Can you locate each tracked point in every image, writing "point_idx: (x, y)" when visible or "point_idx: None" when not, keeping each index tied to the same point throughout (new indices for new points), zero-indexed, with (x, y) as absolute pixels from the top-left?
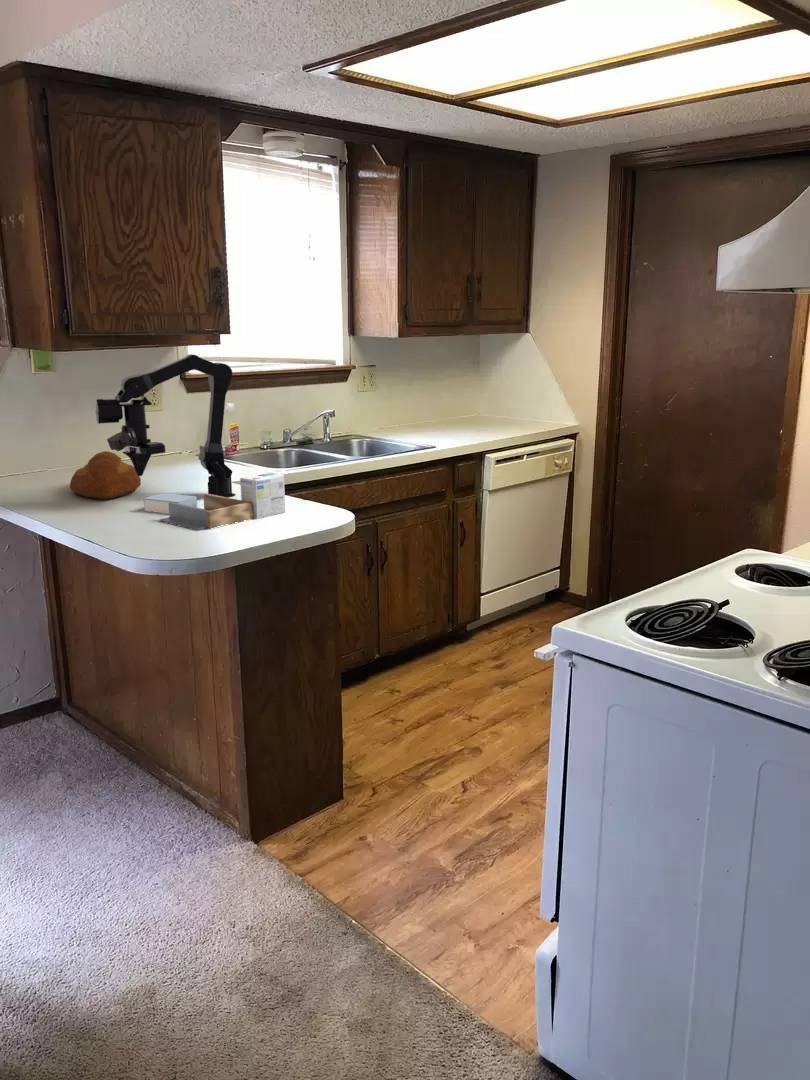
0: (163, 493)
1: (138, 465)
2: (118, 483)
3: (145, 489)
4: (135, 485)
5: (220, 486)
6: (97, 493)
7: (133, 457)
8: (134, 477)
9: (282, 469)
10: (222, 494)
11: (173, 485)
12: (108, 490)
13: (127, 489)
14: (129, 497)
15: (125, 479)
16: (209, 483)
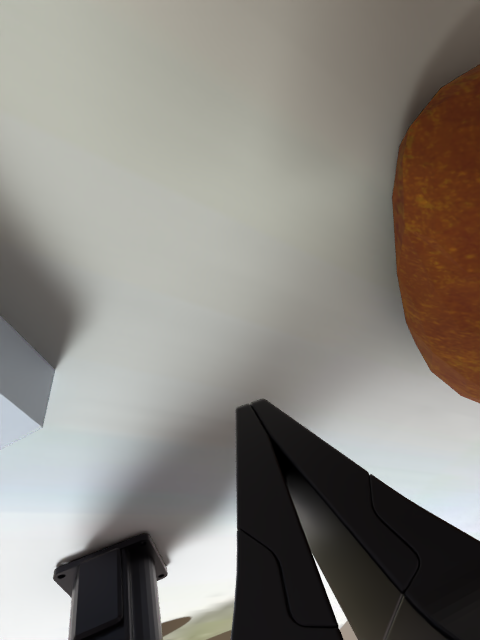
0: (16, 430)
1: (239, 529)
2: (454, 267)
3: (426, 381)
4: (427, 356)
5: (70, 632)
6: (468, 79)
7: (425, 633)
8: (468, 381)
9: None
10: (73, 590)
11: (393, 460)
12: (432, 164)
13: (407, 302)
14: (367, 287)
15: (467, 328)
16: (101, 620)
